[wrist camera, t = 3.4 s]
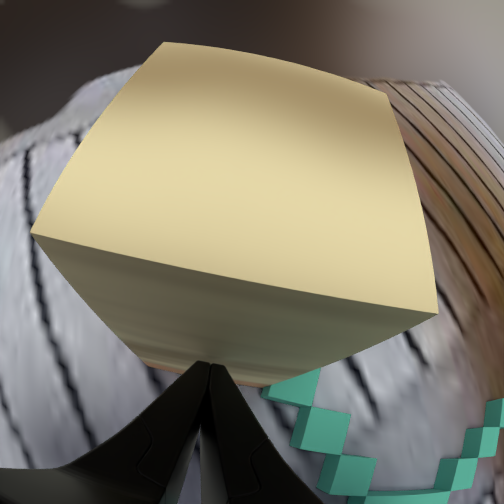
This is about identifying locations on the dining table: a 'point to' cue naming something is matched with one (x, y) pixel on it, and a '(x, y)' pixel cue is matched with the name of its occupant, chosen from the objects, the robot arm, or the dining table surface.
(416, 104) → the dining table surface
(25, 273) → the dining table surface
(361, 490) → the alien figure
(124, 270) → the maple block
